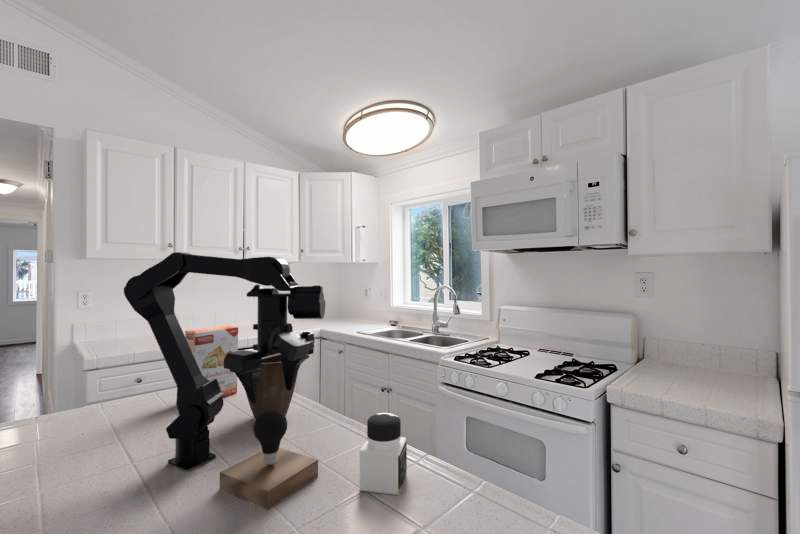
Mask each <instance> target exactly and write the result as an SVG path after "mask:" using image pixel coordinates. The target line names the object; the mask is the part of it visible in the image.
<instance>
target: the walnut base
mask: <svg viewBox="0 0 800 534" xmlns="http://www.w3.org/2000/svg"><path fill="white" fill-rule="evenodd" d="M263 455H264V454H263V451H262V450H261V451H259V452H257V453H255V454H253V455H251V456H249V457H246V458H245V459H242V460H241V461H239V462H237V463H234V464H233V465H231V466H229V467H227V468H225V469H224V470H221V471H219V490H220V491H223V492H225V493H227V494H229V495H232V496H235V497H237V498H239V499H241V500H244V501H246V502H249V503H252V504H253V505H256V506H259V507H260V508H263V509H265V510H269V509H271V508H272V507H274V506H276V505H277V504H278V503H281V501H283V500H285V499H286V498H287V497H289V496H290V495H293V493H295V492H297V491H299V489H301V488H302V487H304V486H305V485H306V484H308V483H310V482H311V481H312V480H314V479H315V478H317V477H318V476H319V459H317V458H314V457H311V456H307V455H305V454H304V455H303V454H301V453H297V452H295V451H290V450H289V449H288V450H287V449H284V448H281V447H279V449H278V460H277V462H276V463H274V464H273V465H272V466H268V465H266V464H265V463H264V462H263V459H264V458H263V457H264V456H263Z"/></svg>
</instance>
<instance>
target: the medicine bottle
mask: <svg viewBox="0 0 800 534" xmlns="http://www.w3.org/2000/svg"><path fill="white" fill-rule="evenodd" d="M366 422H367V423H366V426H367V428H366V430H367V431H366V436H367V437H366V438H367V439H366V441H365V442H364V444H363V446H362V447H361V449H360V450H359V491H361V492H369V493H375V494H376V493H378V494H385V495H393V496H394V495H395V496H399V495H400V494H401V491H402V488H403V485H404V482H405V479H406V477H407V473H408V472H407V471H408V470H407V469H408V468H407V463H408V462H407V456H408V454H407V438H406V437H405V436H404V437H403V436H401V435H402V434H401V427H402V425H401V418H400V417H399V416H398V415H396V414H393V413H389V412H379V413H375V414H373V415H371V416H369V417H368V419H367V421H366Z"/></svg>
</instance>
